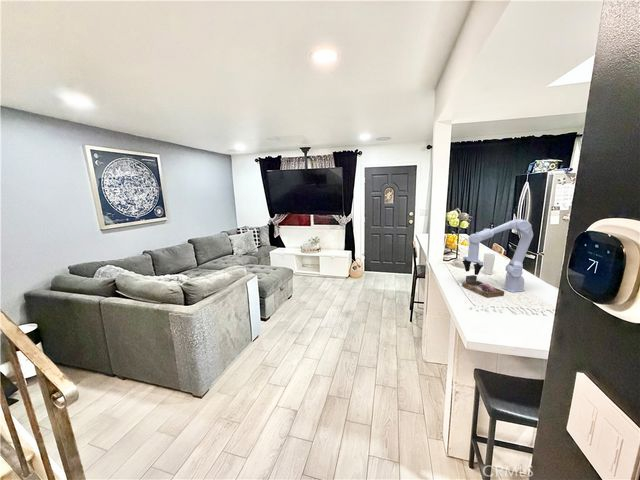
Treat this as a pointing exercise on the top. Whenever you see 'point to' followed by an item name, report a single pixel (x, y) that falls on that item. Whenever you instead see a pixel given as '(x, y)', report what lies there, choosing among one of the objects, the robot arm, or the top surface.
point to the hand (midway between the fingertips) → (471, 272)
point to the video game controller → (487, 288)
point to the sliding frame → (472, 282)
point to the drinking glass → (488, 263)
